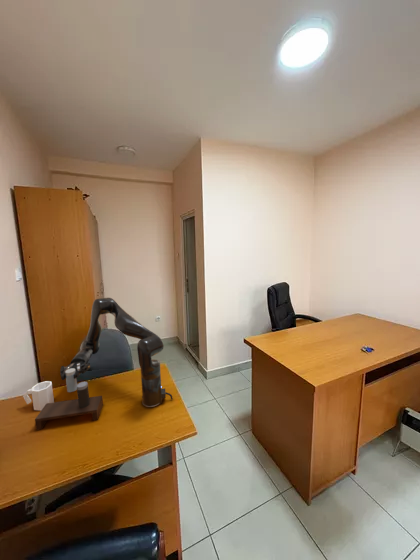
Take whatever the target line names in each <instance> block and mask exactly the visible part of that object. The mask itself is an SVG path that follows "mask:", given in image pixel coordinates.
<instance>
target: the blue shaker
mask: <svg viewBox="0 0 420 560" xmlns="http://www.w3.org/2000/svg"><path fill="white" fill-rule="evenodd" d="M75 372H76V370H75V369H74V368H71V369H68V370H66V371H65V376H66V378H65V385H66V392H67V393H73V392H75V391H77V385H78V379H77V378H78V377H76V379H74V376H73V375H74V373H75Z"/></svg>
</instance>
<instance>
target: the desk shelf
mask: <svg viewBox="0 0 420 560" xmlns="http://www.w3.org/2000/svg"><path fill="white" fill-rule="evenodd" d="M103 400H104V399H103V395H97V396H89V401H90V404H89V405H88V406H87V407H84V408H80V407H79V404H78V398H76V399H75V398H74V399H70V400H60V401H54V403H47V404H46V405H45V406H44V408H43V409H42V410H41V411H39V413H38V414H37V416H36V417H35V418H34V422H35V423H34V424H35V430H36V431H37V430H42V429H43V428H44V426H45V425H46V423H47V421H49V420H55V419H62V418H69V417H73V416H81V415H87V414H91V417H92V421H99V420H98V419H99V417H100V415H101V411H102V410H103V407H104V401H103Z"/></svg>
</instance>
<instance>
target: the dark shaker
mask: <svg viewBox="0 0 420 560" xmlns="http://www.w3.org/2000/svg"><path fill="white" fill-rule="evenodd" d="M76 393H77V399H78V404H79V407H80V408H84V407H87V406H88V405H89V404H90V401H89V397H90V392H89V383H88V382H87V381H81V382H79V383H77V390H76Z"/></svg>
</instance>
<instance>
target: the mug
mask: <svg viewBox="0 0 420 560" xmlns="http://www.w3.org/2000/svg"><path fill="white" fill-rule="evenodd" d="M30 393H31V398H32V399H31V398H30V395H29V394H30ZM22 398H23V400H24V401H25V403H26V405H29V404H30V403H32V405H33V411H39V412H41V410H42V409H43V408H44V406H45V405H46V404H47V403H54V402H55V399H54V398H55V397H54V390H53V383H52V381H50V380H45V381H42V382H38V383H36V384H35V385H33V386H32V387H31V388H29V389H27V391H26V392H25V393H24V394H23V396H22Z"/></svg>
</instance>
